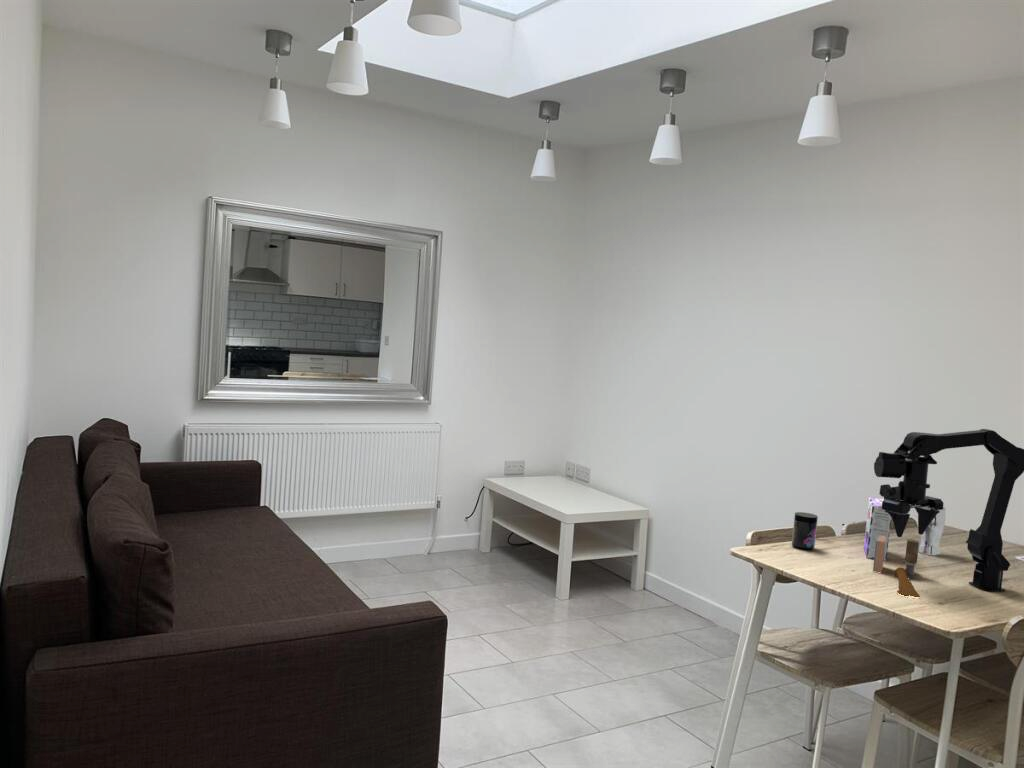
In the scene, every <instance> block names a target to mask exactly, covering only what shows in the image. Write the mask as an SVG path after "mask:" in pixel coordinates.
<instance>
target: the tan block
mask: <svg viewBox="0 0 1024 768" xmlns="http://www.w3.org/2000/svg"><path fill="white" fill-rule="evenodd" d="M885 545H886V536H880V535H879V536H878V537H877V540H876V548H875V557H874V559H873V568H872V571H873V572H874V571H876V572H875V573H877V572H881V573H880V574H882V573H883V569H884V562H885V561H884V554H885Z"/></svg>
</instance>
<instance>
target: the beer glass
mask: <svg viewBox="0 0 1024 768" xmlns="http://www.w3.org/2000/svg"><path fill="white" fill-rule="evenodd" d="M938 511H940V512H939V513H938V514H937V515H936V516H935V518H934V519H933V520H932V522H931V523H930V524H929V526H928V527H927V529H926V530H925V532H924V533H923V534H922V535H921V534H920V540H919V548H918V553H919V554H922V555H926V556H930V557H938V556H940V542H941V538H942V535H943V531H944V528H945V523H946V507H944V506H943V510H938Z"/></svg>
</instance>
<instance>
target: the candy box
mask: <svg viewBox="0 0 1024 768" xmlns="http://www.w3.org/2000/svg"><path fill="white" fill-rule="evenodd" d="M883 501H884V498H876V497H871V496H870V497H868V504H867V515H866V522H865V524H866V525H865V532H864V533H865V535H864V541H863V550H864V553H865V554H864V555H865V557H866V558H867V559H870V558H872V559H871V560H874V557H875V548H876V540H877V537H878V536H879V535H880V536H886V545H885V554H884V562H887V558H888V551H889V540H890V533H891V524H892V517H891V516H890V515H889V514H888V513H887V512H885V510H883V509H881V508H882V502H883Z"/></svg>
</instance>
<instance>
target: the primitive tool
mask: <svg viewBox="0 0 1024 768" xmlns="http://www.w3.org/2000/svg"><path fill="white" fill-rule="evenodd" d="M893 576H894V577H895V578H896V577H897V578H896V579H897V581H898V588H899V589H898V590H897V591H896V593H897V592H898V593H899V594H901V595H904V596H909V595H910V596H914V597H921V595H920V594H919V593H918V591H916V589H915V586H914V585H913V583H912V582H911V580H910V579H908V572H907V570H906V568H904V567H901V566H900V567H897V568H896V569H894V572H893ZM898 593H897V594H898Z"/></svg>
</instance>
